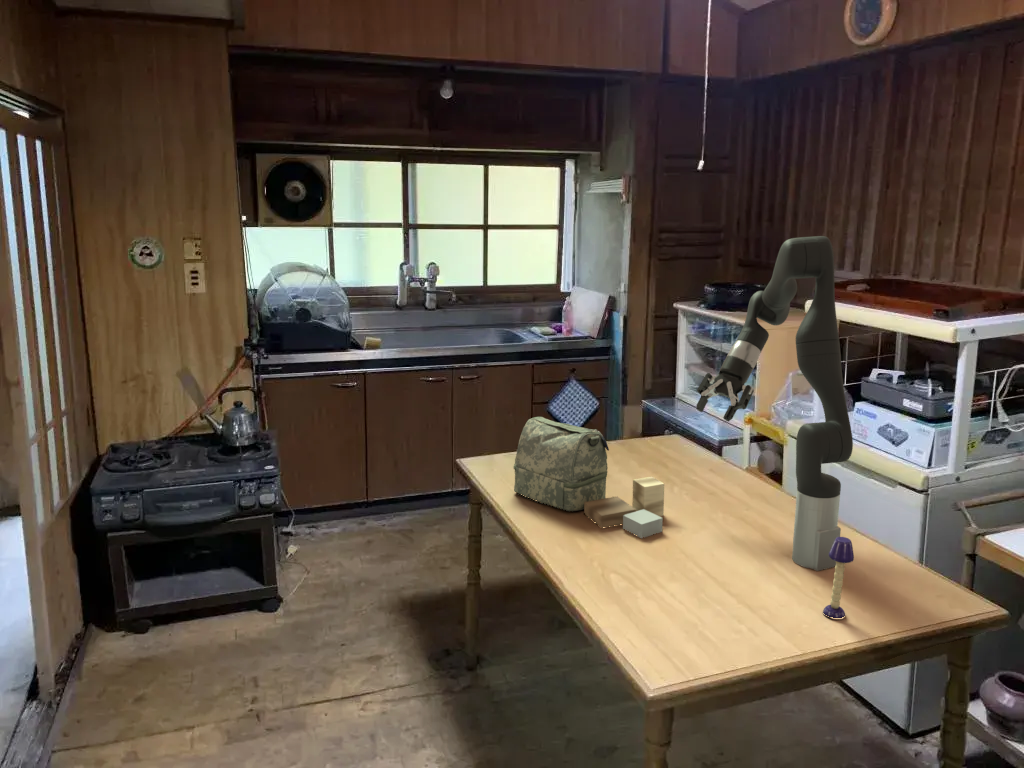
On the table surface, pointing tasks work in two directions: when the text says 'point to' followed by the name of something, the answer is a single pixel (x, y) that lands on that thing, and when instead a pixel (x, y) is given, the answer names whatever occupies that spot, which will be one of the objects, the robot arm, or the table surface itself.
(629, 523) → the grey block
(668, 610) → the table surface
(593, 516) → the walnut block
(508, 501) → the table surface
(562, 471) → the lunch bag
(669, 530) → the table surface
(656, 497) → the oak block
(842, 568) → the toy lamp
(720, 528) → the table surface
